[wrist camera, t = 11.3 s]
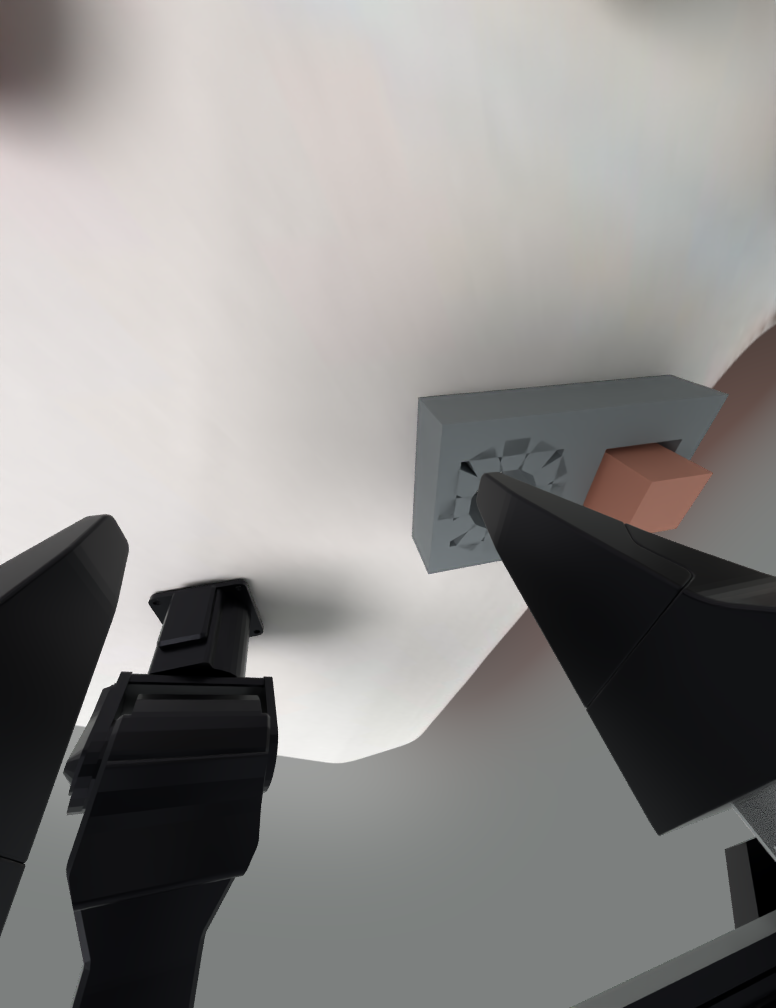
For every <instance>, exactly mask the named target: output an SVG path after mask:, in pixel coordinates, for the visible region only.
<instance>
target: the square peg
mask: <svg viewBox="0 0 776 1008" xmlns="http://www.w3.org/2000/svg"><path fill="white" fill-rule="evenodd" d="M712 474H713V473H712V472H710V471H708V470H707V469H705V468H703V467H701V466H699V465H697V464H695V463H693V462H692V461H690V460H688V459H686V458H684V457H682V456H680V455H678V454H677V453H675V452H673V451H671V450H669V449H667V448H665V447H663V446H661V445H660V444H658V443H649V444H641V445H633V446H626V447H618V448H611V449H606V451H605V453H604V456H603V458H602V461H601V463H600V465H599V468H598V470H597V472H596V475H595V477H594V480H593V482H592V484H591V487H590V489H589V492H588V494H587V496H586V499H585V501H584V504H583V506H584V507H587V508H589V509H592V510H594V511H597V512H599V513H602V514H604V515H607V516H609V517H612V518H614V519H617V520H619V521H622V522H623V523H624V524H625V523H627V524H630V525H632V526H635V527H637V528H640V529H642V530H645V531H647V532H650V533H654V532H660V531H665V530H671V529H676V528H677V527H678V525H679V524H680V522H681V521H682V519H683V518H684V516H685V514H686V513H687V512H688V510H689V509H690V507H691V506H692V504H693V503H694V501H695V500H696V498H697V497H698V495H699V494H700V492H701V491H702V489H703V488H704V486H705V485H706V483H707V482H708V480H709V478H710V477H711V475H712Z"/></svg>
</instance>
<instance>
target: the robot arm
mask: <svg viewBox="0 0 776 1008" xmlns="http://www.w3.org/2000/svg"><path fill="white" fill-rule="evenodd" d="M476 502H477V507H478V509H479V511H480V514H481V516H482V518H483V521H484V523H485V526H486V528H487V530H488V533H489V535H490V537H491V540H492V542H493V544H494V546H495V549H496V551H497V553H498V554H499V556H500V558H501V560H502V562H503V563H504V565H505V567H506V569H507V570H508V572H509V574H510V576H511V578H512V579H513V581H514V583H515V585H516V586H517V588H518V590H519V592H520V593H521V595H522V597H523V599H524V601H525V602H526V604H527V606H528V608H529V609H530V611H531V613H532V615H533V616H534V618H535V620H536V622H537V623H538V625H539V627H540V628H541V631H542V632H543V634H544V636H545V638H546V639H547V641H548V643H549V644H550V646H551V648H552V650H553V652H554V654H555V655H556V657H557V659H558V661H559V662H560V664H561V666H562V668H563V669H564V671H565V673H566V675H567V677H568V678H569V680H570V682H571V683H572V685H573V687H574V689H575V691H576V692H577V694H578V696H579V698H580V699H581V701H582V703H583V705H584V707H586V708H587V709H586V710H587V712H588V714H589V715H590V718H591V719H592V721H593V723H594V725H595V726H596V728H597V730H598V731H599V733H600V735H601V737H602V739H603V741H604V742H605V744H606V746H607V748H608V749H609V751H610V753H611V755H612V756H613V758H614V760H615V762H616V764H617V765H618V767H619V769H620V771H621V772H622V774H623V776H624V778H625V779H626V781H627V783H628V785H629V787H630V788H631V790H632V792H633V794H634V795H635V797H636V799H637V800H638V802H639V804H640V806H641V807H642V809H643V811H644V813H645V815H646V816H647V818H648V820H649V822H650V823H651V825H652V827H653V828H654V830H655V831H656V833H657V834H658V835H659V836H661V835H664V834H666V833H669V832H671V831H674V830H677V829H679V828H682V827H684V826H687V825H690V824H692V823H695V822H697V821H700V820H703V819H705V818H708V817H711V816H713V815H716V814H719V813H721V812H724V811H726V810H729V809H732V808H733V809H734V811H735V812H736V813H737V815H738V816H739V817H740V818H741V819H742V821H743V822H744V823H745V825H746V826H747V827H748V828H749V830H750V831H751V832H752V833H753V835H754V836H755V837H753V838H751V839H749V840H746V841H744V842H741V843H739V844H736V845H734V846H732V847H729V848H727V849H725V855H726V862H727V870H728V877H729V885H730V892H731V900H732V908H733V915H734V923H735V930H733V931H731V932H728V933H726V934H724V935H722V936H720V937H718V938H716V939H714V940H712V941H710V942H707V943H705V944H703V945H701V946H699V947H697V948H695V949H693V950H691V951H688V952H686V953H684V954H682V955H680V956H678V957H676V958H674V959H671V960H669V961H667V962H665V963H663V964H661V965H659V966H657V967H655V968H653V969H650V970H648V971H646V972H644V973H642V974H640V975H638V976H636V977H634V978H631V979H629V980H627V981H626V982H623V983H621V984H619V985H617V986H615V987H612V988H611V989H608V990H606V991H604V992H602V993H600V994H598V995H596V996H594V997H591V998H589V999H587V1000H585V1001H583V1002H581V1003H579V1004H577V1005H575V1006H573V1007H570V1008H776V577H775V576H772V575H768V574H765V573H762V572H759V571H756V570H753V569H750V568H747V567H745V566H741V565H739V564H736V563H733V562H730V561H727V560H725V559H722V558H719V557H716V556H713V555H710V554H707V553H704V552H701V551H699V550H696V549H693V548H690V547H687V546H684V545H682V544H679V543H676V542H674V541H671V540H668V539H665V538H663V537H660V536H658V535H655V534H652V533H650V532H647V531H645V530H642V529H640V528H637V527H635V526H632V525H630V524H627V523H625V524H624V523H623V522H622V521H619V520H617V519H614V518H612V517H609V516H607V515H604V514H602V513H599V512H597V511H594V510H592V509H589V508H587V507H584V506H582V505H580V504H577V503H575V502H572V501H570V500H567V499H565V498H562V497H560V496H557V495H555V494H552V493H550V492H547V491H545V490H542V489H540V488H537V487H535V486H532V485H530V484H527V483H525V482H522V481H520V480H517V479H515V478H512V477H510V476H507V475H505V474H502V473H500V472H489V473H484V474H483V475H482V476H481V479H480V484H479V488H478V493H477V498H476ZM128 553H129V545H128V542H127V540H126V538H125V536H124V534H123V533H122V531H121V529H120V527H119V526H118V524H117V522H116V520H115V519H114V518H113V517H112V516H111V515H108V514H103V515H94V516H88V517H85V518H83V519H81V520H80V521H78V522H76V523H74V524H73V525H71V526H69V527H67V528H65V529H64V530H62V531H60V532H58V533H57V534H55V535H53V536H51V537H49V538H48V539H46V540H44V541H42V542H41V543H39V544H37V545H35V546H34V547H32V548H30V549H28V550H26V551H25V552H23V553H21V554H19V555H18V556H16V557H14V558H12V559H10V560H9V561H7V562H5V563H3V564H2V565H0V936H1V933H2V930H3V927H4V924H5V922H6V919H7V916H8V913H9V910H10V908H11V905H12V902H13V899H14V896H15V894H16V891H17V888H18V885H19V882H20V879H21V877H22V874H23V871H24V868H25V864H24V863H25V862H26V861H27V859H28V856H29V853H30V850H31V847H32V845H33V842H34V839H35V836H36V834H37V831H38V828H39V825H40V822H41V819H42V817H43V814H44V811H45V808H46V805H47V803H48V799H49V797H50V794H51V791H52V788H53V786H54V783H55V780H56V777H57V774H58V772H59V769H60V766H61V763H62V760H63V758H64V755H65V752H66V749H67V746H68V743H69V741H70V738H71V735H72V732H73V730H74V727H75V724H76V721H77V718H78V715H79V713H80V710H81V707H82V704H83V701H84V699H85V696H86V693H87V690H88V687H89V685H90V682H91V679H92V676H93V673H94V670H95V668H96V665H97V662H98V659H99V656H100V654H101V651H102V648H103V645H104V642H105V640H106V637H107V634H108V631H109V628H110V626H111V623H112V620H113V617H114V614H115V611H116V607H117V603H118V599H119V594H120V590H121V585H122V580H123V576H124V571H125V567H126V562H127V557H128ZM148 603H149V605H150V607H151V608H152V610H153V611H154V613H155V614H156V615H157V617H158V618H159V620H160V621H161V623H162V624H163V626H162V629H161V632H160V635H159V638H158V641H157V647H156V650H155V653H154V656H153V659H152V662H151V665H150V668H149V671H148V674H132V672H121V674H120V676H119V678H118V680H117V683H115V684H114V685H111V686H110V687H107V688H104V689H103V690H102V693H101V695H100V697H99V700H98V702H97V705H96V707H95V709H94V712H93V714H92V716H91V718H90V720H89V722H88V724H87V726H86V728H85V730H84V732H83V734H82V735H81V737H80V739H79V741H78V743H77V744H76V746H75V748H74V750H73V752H72V753H71V755H70V757H69V759H68V761H67V763H66V766H65V768H64V772H63V774H64V775H65V777H66V779H67V780H68V781H69V783H70V785H71V786H70V790H69V796H70V795H72V796H71V799H70V803H69V806H68V810H67V815H73V814H82V813H84V816H83V818H82V821H81V824H80V827H79V830H78V833H77V836H76V839H75V842H74V845H73V848H72V851H71V854H70V857H69V860H68V863H67V868H66V871H67V872H66V873H67V880H68V885H69V890H70V895H71V900H72V906H73V910H74V915H75V921H76V926H77V931H78V936H79V941H80V946H81V951H82V956H83V966H82V970H81V973H80V976H79V980H78V983H77V987H76V990H75V994H74V997H73V1001H72V1004H71V1008H193V1007H194V1001H195V994H196V987H197V981H198V975H199V968H200V962H201V955H202V950H203V944H204V938H205V934H206V931H207V929H208V927H209V925H210V923H211V922H212V920H213V918H214V916H215V914H216V912H217V911H218V909H219V907H220V905H221V903H222V901H223V899H224V897H225V895H226V894H227V892H228V890H229V888H230V886H231V884H232V882H233V881H234V879H235V877H239V876H243V875H244V874H245V872H246V870H247V868H248V866H249V864H250V862H251V859H252V857H253V855H254V853H255V850H256V848H257V845H258V841H259V828H260V812H261V803H262V795H263V793H265V792H266V791H267V789H268V788H269V786H270V783H271V780H272V777H273V772H274V768H275V764H276V757H277V748H278V725H277V716H276V707H275V697H274V688H273V678H272V677H263V678H249V677H245V672H246V662H247V652H248V642H249V637H252V636H257V635H261V634H262V633H263V624H262V621H261V619H260V616H259V613H258V611H257V608H256V606H255V603H254V600H253V598H252V595H251V592H250V590H249V587H248V585H247V582H246V581H244V580H233V581H227V582H221V583H216V584H210V585H204V586H198V587H193V588H187V589H181V590H175V591H169V592H164V593H158V594H154V595H152V596H151V597H150V600H149V602H148Z"/></svg>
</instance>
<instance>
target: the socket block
mask: <svg viewBox="0 0 776 1008" xmlns="http://www.w3.org/2000/svg"><path fill="white" fill-rule="evenodd" d="M727 397H728V394H726V393H723V392H720V391H717V390H714V389H711V388H708V387H705V386H702V385H699V384H696V383H693V382H690V381H687V380H684V379H681V378H678V377H675V376H672V375H663V376H652V377H641V378H630V379H619V380H608V381H597V382H586V383H575V384H564V385H553V386H542V387H531V388H520V389H509V390H498V391H487V392H476V393H465V394H454V395H443V396H432V397H421V398H419V401H418V422H417V443H416V463H415V484H414V505H413V526H412V537H413V540H414V542H415V544H416V547H417V549H418V551H419V554H420V556H421V558H422V560H423V563H424V565H425V567H426V570H427V572H428V574H432V573H437V572H443V571H448V570H453V569H459V568H464V567H469V566H475V565H480V564H485V563H491V562H496V561H501V558H500V556H499V554H498V553H497V551H496V549H495V546H494V544H493V542H492V540H491V537H490V535H489V533H488V530H487V528H486V526H485V523H484V521H483V518H482V516H481V514H480V511H479V509H478V507H477V502H476V498H477V493H476V492H477V490H478V488H479V484H480V479H481V476H482V475H483V474H484V473H489V472H502V474H505V475H507V476H510V477H512V478H515V479H517V480H520V481H522V482H525V483H527V484H530V485H532V486H535V487H537V488H540V489H542V490H545V491H547V492H550V493H552V494H555V495H557V496H560V497H562V498H565V499H567V500H570V501H572V502H575V503H577V504H580V505H582V506H583V504H584V501H585V499H586V496H587V494H588V492H589V489H590V487H591V484H592V482H593V480H594V477H595V475H596V472H597V470H598V468H599V465H600V463H601V461H602V458H603V456H604V453H605V451H606V449H611V448H618V447H626V446H633V445H641V444H649V443H658V444H660V445H661V446H663V447H665V448H667V449H669V450H671V451H673V452H675V453H677V454H678V455H680V456H682V457H684V458H686V459H688V460H690V459H691V457H692V456H693V454H694V452H695V451H696V449H697V447H698V446H699V444H700V442H701V441H702V439H703V437H704V435H705V434H706V432H707V431H708V429H709V427H710V425H711V424H712V422H713V420H714V419H715V417H716V415H717V414H718V412H719V410H720V409H721V407H722V405H723V403H724V402H725V400H726V399H727Z"/></svg>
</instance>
